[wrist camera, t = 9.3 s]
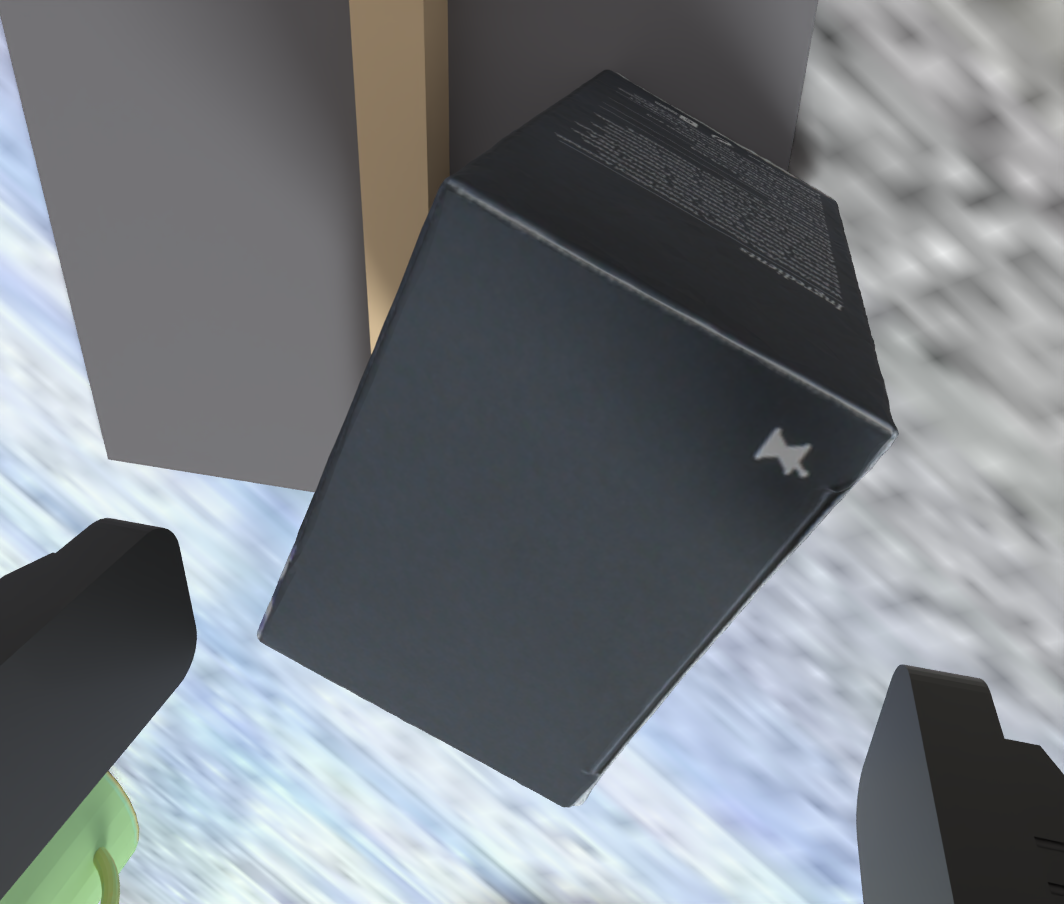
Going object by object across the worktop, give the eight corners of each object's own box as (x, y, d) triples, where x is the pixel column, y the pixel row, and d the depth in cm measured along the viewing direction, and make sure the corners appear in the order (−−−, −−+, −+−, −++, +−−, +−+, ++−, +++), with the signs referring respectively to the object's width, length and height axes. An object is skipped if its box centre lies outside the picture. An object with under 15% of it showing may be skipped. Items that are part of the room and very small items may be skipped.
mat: (851, -199, 15) (863, -219, 13) (719, 548, 23) (716, 592, 21) (-40, -208, 18) (-118, -224, 17) (116, 452, 26) (74, 485, 25)
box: (601, 60, 18) (437, 164, 9) (842, 198, 18) (930, 440, 9) (454, 365, 22) (239, 650, 13) (650, 473, 22) (576, 829, 13)
